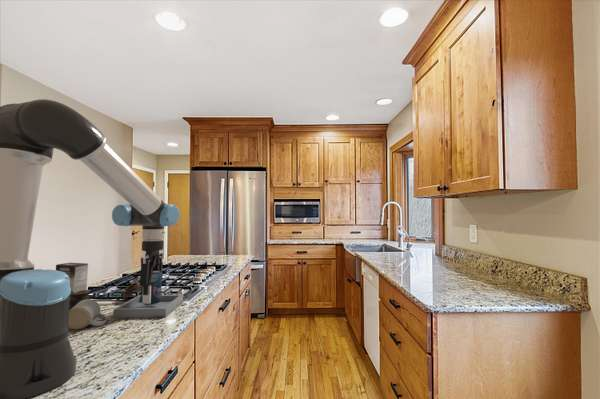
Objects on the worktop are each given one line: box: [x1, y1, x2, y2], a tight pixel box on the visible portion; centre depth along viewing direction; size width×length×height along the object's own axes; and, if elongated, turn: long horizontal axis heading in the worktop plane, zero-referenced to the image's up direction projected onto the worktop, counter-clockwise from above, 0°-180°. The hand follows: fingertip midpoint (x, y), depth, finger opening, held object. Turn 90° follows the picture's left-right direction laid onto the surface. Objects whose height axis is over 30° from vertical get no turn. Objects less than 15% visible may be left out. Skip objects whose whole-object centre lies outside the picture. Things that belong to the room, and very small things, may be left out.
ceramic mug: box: [68, 298, 108, 330], centre depth 96 cm, size 11×8×8 cm
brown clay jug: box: [121, 281, 142, 300], centre depth 126 cm, size 12×10×8 cm
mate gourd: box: [69, 289, 91, 311], centre depth 107 cm, size 7×8×10 cm
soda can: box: [141, 270, 163, 305], centre depth 112 cm, size 7×7×12 cm
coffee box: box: [55, 262, 89, 298], centre depth 119 cm, size 9×6×16 cm
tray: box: [112, 294, 184, 319], centre depth 112 cm, size 18×18×3 cm
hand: (151, 300), depth 112 cm, fingers closed on soda can, 7 cm apart
